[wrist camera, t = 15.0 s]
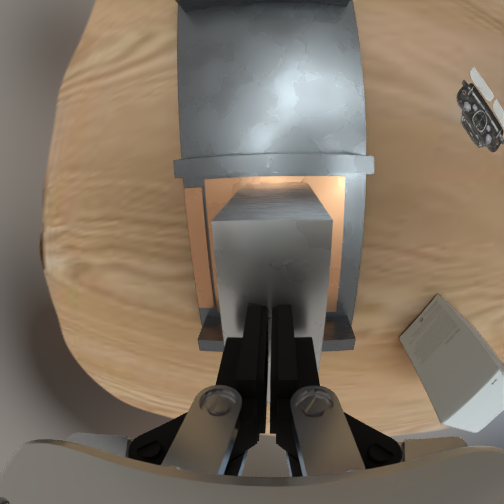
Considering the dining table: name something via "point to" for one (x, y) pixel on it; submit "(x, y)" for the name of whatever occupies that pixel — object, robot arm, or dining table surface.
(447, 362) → the small box
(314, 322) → the panel
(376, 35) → the dining table surface
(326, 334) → the slot rack
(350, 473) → the robot arm
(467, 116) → the car cutout
